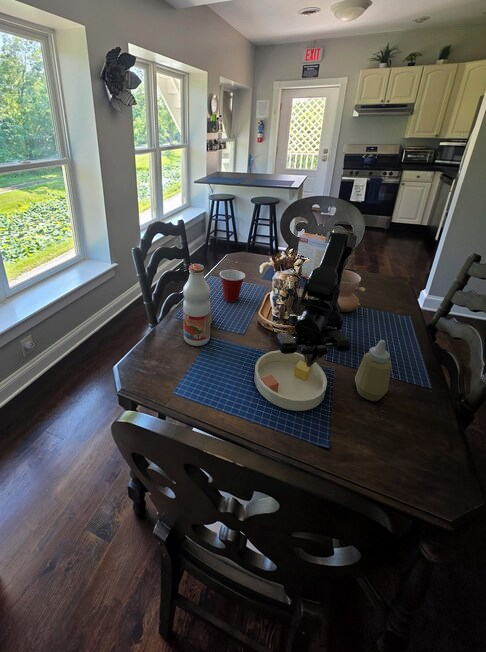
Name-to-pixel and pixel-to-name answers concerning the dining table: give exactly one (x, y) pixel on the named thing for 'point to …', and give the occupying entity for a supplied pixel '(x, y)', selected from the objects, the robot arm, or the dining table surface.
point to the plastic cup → (231, 284)
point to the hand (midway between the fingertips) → (308, 365)
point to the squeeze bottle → (374, 373)
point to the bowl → (290, 381)
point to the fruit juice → (196, 307)
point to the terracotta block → (271, 383)
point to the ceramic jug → (349, 291)
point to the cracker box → (311, 252)
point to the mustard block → (302, 371)
